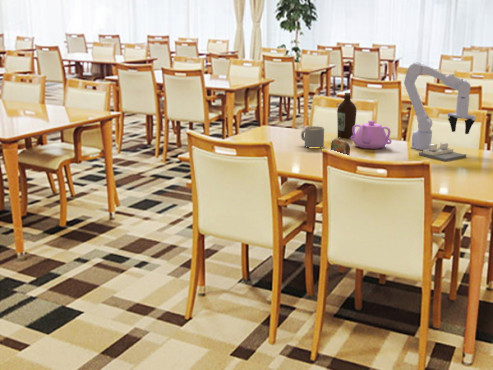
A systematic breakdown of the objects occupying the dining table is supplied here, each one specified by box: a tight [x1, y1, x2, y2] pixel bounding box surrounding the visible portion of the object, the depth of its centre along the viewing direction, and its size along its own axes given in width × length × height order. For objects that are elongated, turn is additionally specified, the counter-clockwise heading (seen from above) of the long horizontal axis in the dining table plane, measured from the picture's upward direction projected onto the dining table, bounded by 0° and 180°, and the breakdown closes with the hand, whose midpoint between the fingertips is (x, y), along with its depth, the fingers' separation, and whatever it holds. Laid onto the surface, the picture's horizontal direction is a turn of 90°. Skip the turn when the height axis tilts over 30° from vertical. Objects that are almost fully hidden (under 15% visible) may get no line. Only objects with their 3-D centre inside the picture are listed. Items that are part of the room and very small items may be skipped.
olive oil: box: [336, 92, 357, 140], centre depth 342 cm, size 11×11×25 cm
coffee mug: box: [300, 125, 325, 148], centre depth 322 cm, size 13×10×10 cm
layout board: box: [418, 142, 467, 162], centre depth 297 cm, size 16×15×5 cm
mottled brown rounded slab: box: [330, 138, 351, 156], centre depth 297 cm, size 15×3×8 cm, turn 21°
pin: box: [429, 143, 438, 152], centre depth 298 cm, size 4×4×4 cm
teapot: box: [350, 120, 392, 150], centre depth 317 cm, size 22×22×14 cm
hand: (460, 132), depth 306 cm, fingers open, 7 cm apart
